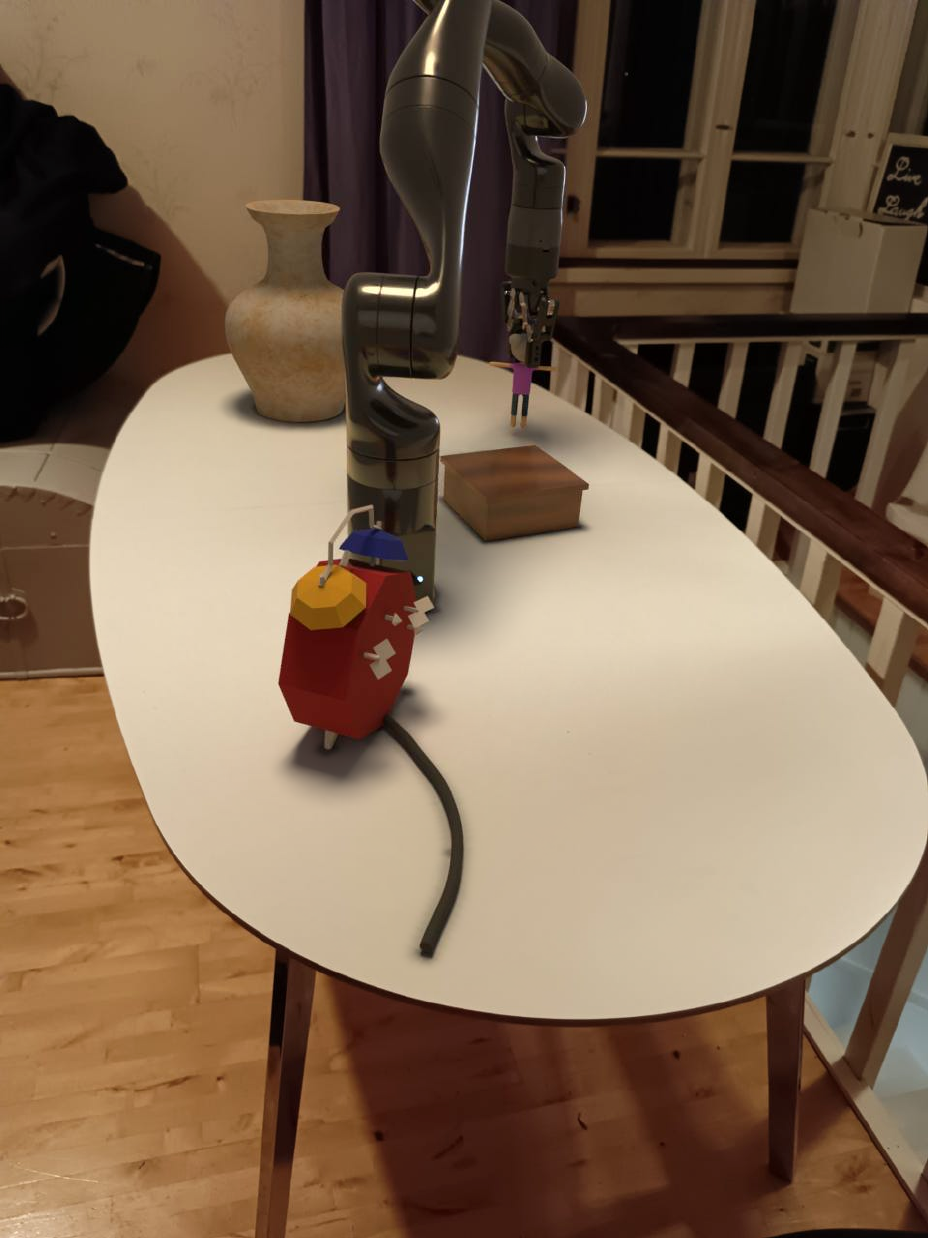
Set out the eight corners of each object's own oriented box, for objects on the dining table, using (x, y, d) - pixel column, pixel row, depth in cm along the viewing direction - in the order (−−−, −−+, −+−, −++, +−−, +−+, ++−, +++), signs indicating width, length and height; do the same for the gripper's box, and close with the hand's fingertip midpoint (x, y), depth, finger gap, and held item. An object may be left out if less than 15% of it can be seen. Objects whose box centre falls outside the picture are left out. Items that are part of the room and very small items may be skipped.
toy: (551, 426, 149) (562, 328, 141) (551, 438, 144) (561, 338, 136) (485, 420, 149) (492, 323, 142) (482, 432, 145) (489, 332, 137)
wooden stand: (583, 527, 120) (589, 483, 117) (483, 543, 115) (487, 497, 112) (531, 485, 131) (535, 444, 128) (438, 498, 126) (439, 455, 123)
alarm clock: (357, 665, 91) (355, 469, 81) (441, 687, 89) (451, 488, 79) (280, 756, 79) (267, 539, 69) (375, 783, 77) (376, 563, 67)
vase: (214, 425, 145) (195, 212, 129) (250, 382, 164) (238, 191, 148) (357, 435, 144) (355, 222, 129) (377, 390, 163) (378, 200, 148)
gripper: (487, 231, 137) (479, 350, 146) (534, 250, 126) (523, 377, 135) (533, 231, 140) (523, 347, 149) (583, 249, 129) (569, 373, 137)
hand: (523, 361), depth 142 cm, fingers closed on toy, 5 cm apart
